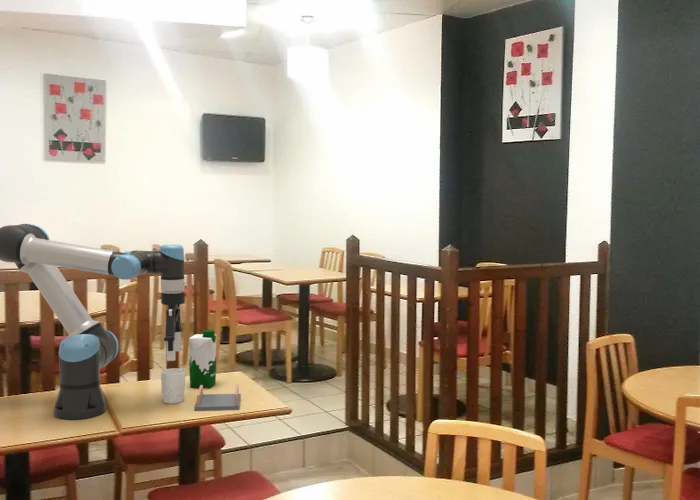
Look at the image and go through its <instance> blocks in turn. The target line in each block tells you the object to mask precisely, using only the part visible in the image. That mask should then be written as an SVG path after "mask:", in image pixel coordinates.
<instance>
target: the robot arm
mask: <svg viewBox="0 0 700 500" xmlns="http://www.w3.org/2000/svg"><path fill="white" fill-rule="evenodd" d="M159 247H160V248H159V250H128V251H124V252H122V251H114V250H110V249H109V250H108V249H102V248H98V247H91V246H85V245H80V244H73V243H68V242H61V241H57V240H51V239H50V237H49V234H48V233H47V232H46V230H45V229H43V228H42V227H41V226H39V225H35V224H31V223H21V224H15V225H14V224H13V225H12V224H11V225H9V224H8V225H4V226H1V227H0V261H1V262H4V263H13V264H14V265H15V266H16V267H17V268H18V270H19V272H22V273H25V274H27V275H28V276H29V277H30V280H32V282H33V283H34V285H35V286H36V288H37V289H38V291H39V292H40V294H41V295H42V297H43V298H44V300H45V301H46V303H47V304H48V305H49V307H50V309H51V310H52V311H53V313H54V315H55V316H56V317H57V319H58V321H59V322H60V323H61V325H62V327H63V328H64V329H65V331H66V333H67V335H68V336H67V337H65V338H64V339H62V340H61V342H60V344H59V346H58V347H59V349H58V361H59V362H58V363H59V364H58V365H59V367H58V368H59V369H58V370H59V391H58V395H57V397H56V400H55V403H54V405H53V406H54V408H53V415H54V417H56V418H58V419H62V418H63V419H64V420H80V419H82V420H83V419H89V418H93V417H97V416H99V415H102V414H104V413H105V412H106V411H107V401H106V399H105V397H104V392H103V391H102V388H101V375H100V374H101V369H102V368H104V367H107V366H108V365H109V364H111V363H112V362H113V360H114V359H116V357H117V355H118V353H119V346H120V345H119V340H118V338H117V336H116V335H115V334H114V333H113V332H112V331H110V330H107V329H105V328H104V326H103V325H102V323H101V322H100V321H99V320H94V319H93V318H92V317H91V315H90V314H89V312H88V311H87V309H86V307H85V306H84V305H83V303H82V302H81V301H80V299H79V298H78V296H77V295H76V293H75V291H74V290H73V288H72V287H71V286H70V284H69V282H68V281H67V280H66V277H65V276H64V274H63V273H62V272H61V271H60V269H59V268H58V267H60V268H65V269H71V270H76V271H77V270H78V271H83V272H91V273H96V274H103V275H109V276H113V277H116V278H118V279H120V280H123V281H124V280H131V279H134V278H136V277H138V276H141V275H147V274H148V275H149V274H151V275H154V274H155V275H159V274H160V291H161V293H160V299H161V301H160V303H161V304H162V305H164V306H166V305H167V308H166V310H165V313H166V319H165V322H166V323H165V337H164V338H163V342H166V347H165V348H166V351H165V352H166V355H165V356H166V361H167V362H173V361H174V362H175V361H176V352H182V349H181V348H182V346H181V345H182V344H181V343H182V342H181V338H182V337H181V332H183V328H182V323H181V321H182V320H181V308H180V306H181V305H183V304H185V303H186V300H185V299H186V297H185V295H186V293H185V292H184V291H185V285H187V282H186V281H185V252H184V247H183V246H182V245H181V244H163V245H161V246H159ZM63 419H62V420H63Z"/></svg>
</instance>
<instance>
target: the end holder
mask: <svg viewBox="0 0 700 500" xmlns="http://www.w3.org/2000/svg"><path fill="white" fill-rule="evenodd" d="M239 388H240V387H239V383H238V384H237V383H236V384H235V389H234V393H210V394H209V393H207V394H206V393H205V394H204V388H203V385H200V388H198V390H197V393H196V401H195V404H194V406H193V407H194V412H195V411H197V412H198V411H200V412H202V411H203V412H205V411H235V410H236V411H239V410H240V406H241V397H242V396H241V393H239Z"/></svg>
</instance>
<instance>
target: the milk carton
mask: <svg viewBox="0 0 700 500" xmlns="http://www.w3.org/2000/svg"><path fill="white" fill-rule="evenodd" d="M217 337H218V336H217V334H215V330H213V329H204V330H202V333H201V334H198V333H196V334H194V335H192V336H191V337H188V344H189V345H188V346H189V347H188V348H189V353H188V354H189V357H188V358H189V360H188V363H189V364H188V365H189V387H190V389H199V388H200V385H203V389H211V388H212V387H213V386H214V385H215V384H216V379H217Z"/></svg>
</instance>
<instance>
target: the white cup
mask: <svg viewBox="0 0 700 500" xmlns="http://www.w3.org/2000/svg"><path fill="white" fill-rule="evenodd" d="M160 378H161V379H160V380H161V381H160V382H161V383H160V384H161V394H162V402H163V403H165V404H179V403H182V402H183V401H185V389H186V388H185V387H186V369H185V368H175V367H174V368H165V369H163V370H161V371H160Z"/></svg>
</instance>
